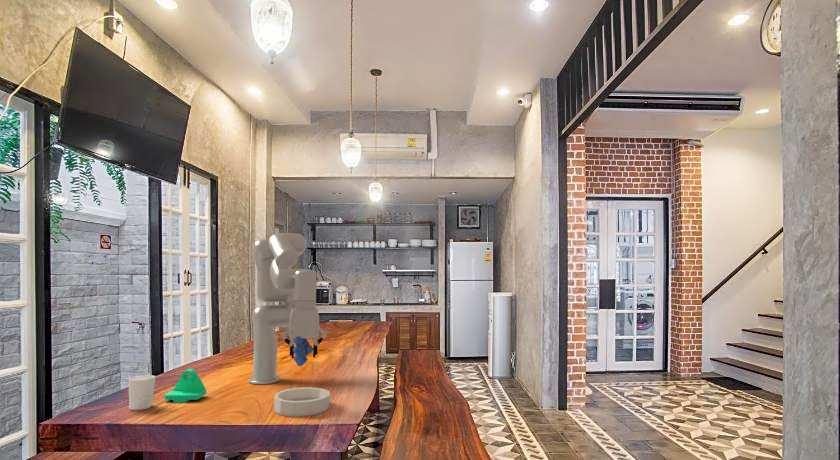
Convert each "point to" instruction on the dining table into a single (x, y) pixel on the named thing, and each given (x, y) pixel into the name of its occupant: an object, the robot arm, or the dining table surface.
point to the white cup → (141, 392)
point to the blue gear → (301, 350)
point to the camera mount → (187, 388)
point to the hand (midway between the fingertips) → (303, 356)
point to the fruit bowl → (301, 402)
